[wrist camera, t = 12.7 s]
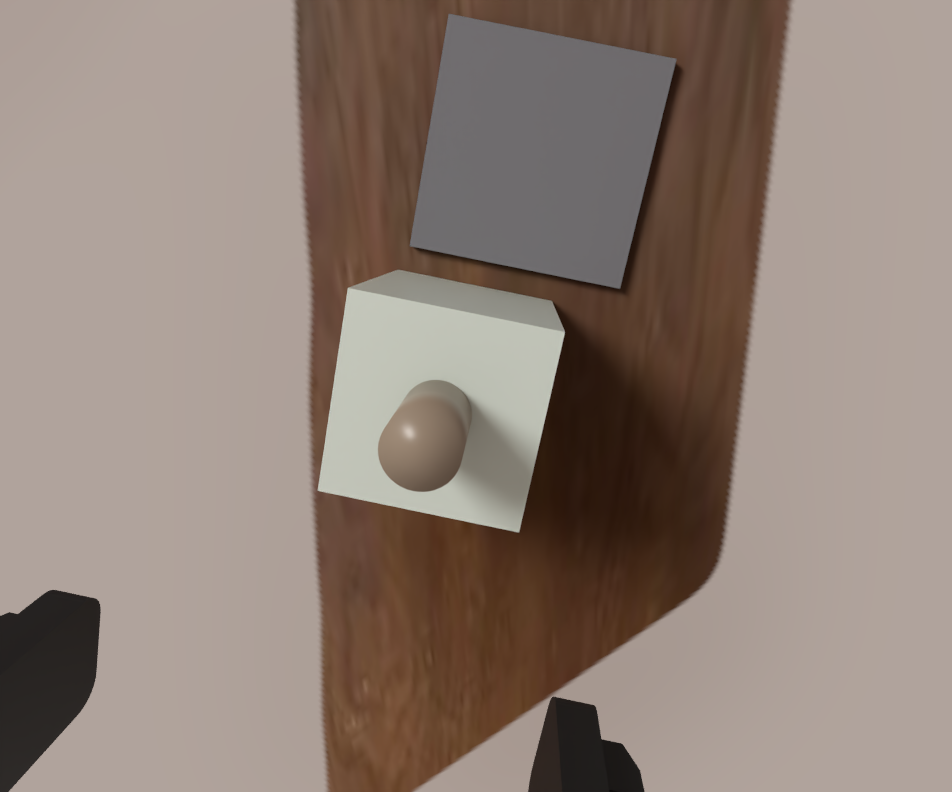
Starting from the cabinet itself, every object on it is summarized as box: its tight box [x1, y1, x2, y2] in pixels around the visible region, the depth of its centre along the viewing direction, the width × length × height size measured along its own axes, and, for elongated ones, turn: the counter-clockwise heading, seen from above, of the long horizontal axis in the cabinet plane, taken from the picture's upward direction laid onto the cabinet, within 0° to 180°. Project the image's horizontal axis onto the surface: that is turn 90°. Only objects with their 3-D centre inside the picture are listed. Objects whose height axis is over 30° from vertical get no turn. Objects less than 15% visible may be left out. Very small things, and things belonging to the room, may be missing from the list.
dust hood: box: [318, 270, 565, 532], centre depth 33 cm, size 9×9×17 cm
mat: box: [410, 14, 676, 289], centre depth 38 cm, size 12×12×1 cm
